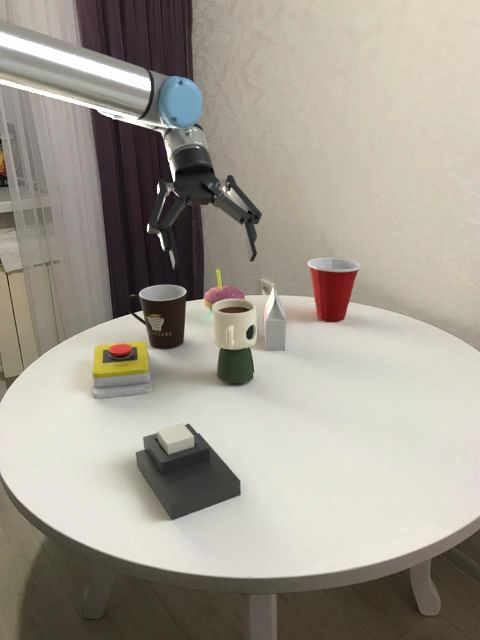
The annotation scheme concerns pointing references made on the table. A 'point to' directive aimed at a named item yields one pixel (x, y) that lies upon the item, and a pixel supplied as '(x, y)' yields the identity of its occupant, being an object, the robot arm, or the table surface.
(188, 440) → the small white rectangular block
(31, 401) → the table surface
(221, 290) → the cupcake
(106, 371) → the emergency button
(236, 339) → the character mug
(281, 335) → the small milk carton
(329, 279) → the plastic cup
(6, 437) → the table surface
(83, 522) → the table surface
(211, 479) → the button base
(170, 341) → the coffee mug
